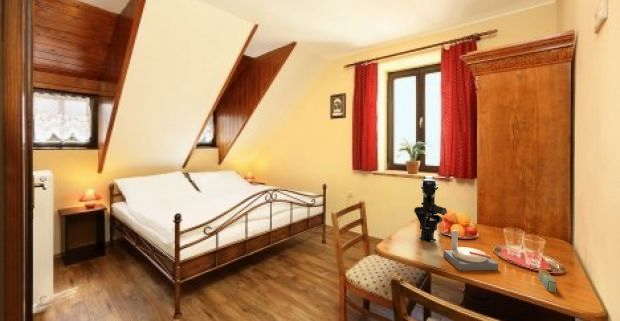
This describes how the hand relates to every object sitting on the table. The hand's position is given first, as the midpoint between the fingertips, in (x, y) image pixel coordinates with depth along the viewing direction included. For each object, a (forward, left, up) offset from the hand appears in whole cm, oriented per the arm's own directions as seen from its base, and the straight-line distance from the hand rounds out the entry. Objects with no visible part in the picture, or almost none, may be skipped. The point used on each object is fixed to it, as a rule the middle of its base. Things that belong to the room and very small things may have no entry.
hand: (428, 231), depth 143 cm
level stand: (-8, +17, -11) cm, 22 cm away
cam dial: (-9, +17, -8) cm, 21 cm away
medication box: (-19, +43, -12) cm, 48 cm away
